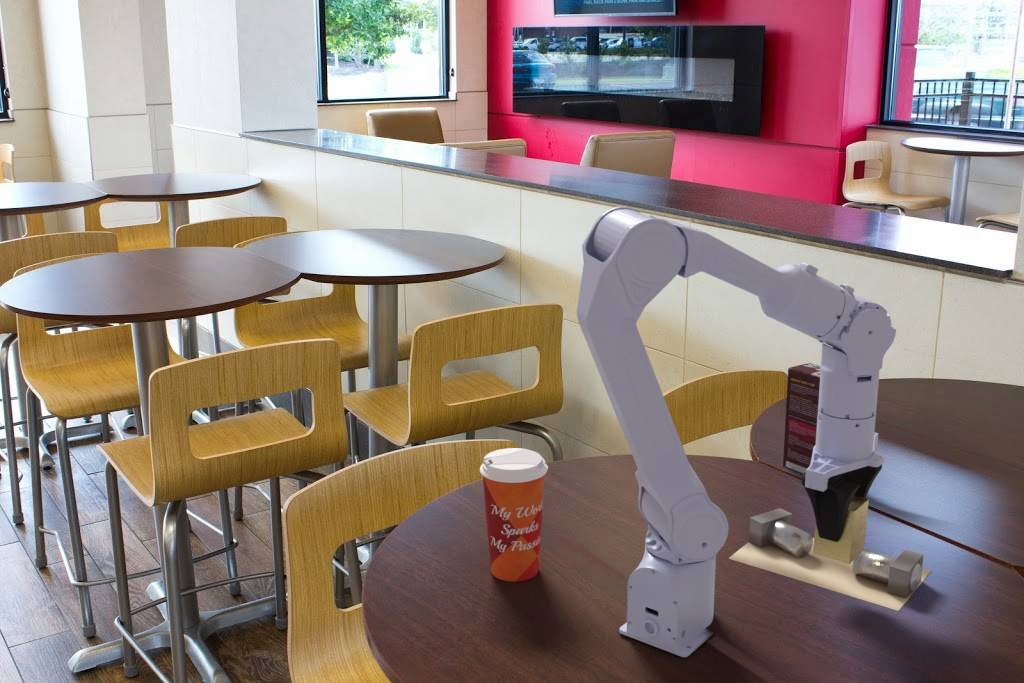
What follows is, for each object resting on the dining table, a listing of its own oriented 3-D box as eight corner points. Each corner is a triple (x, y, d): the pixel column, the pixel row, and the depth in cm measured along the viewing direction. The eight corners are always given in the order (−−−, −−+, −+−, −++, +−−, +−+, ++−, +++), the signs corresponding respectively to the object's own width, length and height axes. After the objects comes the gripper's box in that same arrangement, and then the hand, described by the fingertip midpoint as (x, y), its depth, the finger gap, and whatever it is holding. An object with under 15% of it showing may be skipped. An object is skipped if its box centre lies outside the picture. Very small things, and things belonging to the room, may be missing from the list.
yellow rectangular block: (849, 564, 107) (854, 511, 105) (812, 553, 109) (817, 501, 107) (863, 550, 110) (868, 499, 108) (828, 539, 112) (832, 489, 110)
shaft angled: (812, 554, 119) (813, 530, 119) (794, 560, 118) (795, 536, 117) (771, 533, 125) (772, 510, 124) (753, 539, 123) (754, 516, 123)
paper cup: (491, 590, 114) (488, 474, 111) (475, 560, 122) (472, 450, 118) (557, 581, 116) (557, 466, 113) (537, 551, 124) (537, 443, 120)
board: (897, 621, 107) (901, 583, 106) (727, 567, 119) (729, 533, 118) (930, 580, 115) (933, 545, 114) (768, 534, 127) (770, 501, 126)
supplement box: (851, 484, 142) (860, 375, 138) (828, 492, 139) (836, 382, 135) (802, 465, 149) (809, 361, 145) (780, 473, 146) (786, 367, 142)
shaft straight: (919, 584, 112) (922, 560, 111) (910, 595, 110) (913, 570, 109) (861, 567, 116) (863, 543, 115) (851, 577, 114) (853, 553, 113)
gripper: (857, 438, 97) (848, 567, 101) (910, 399, 108) (899, 517, 112) (788, 423, 102) (781, 547, 105) (845, 387, 113) (837, 501, 116)
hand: (837, 531), depth 109 cm, fingers closed on yellow rectangular block, 4 cm apart
